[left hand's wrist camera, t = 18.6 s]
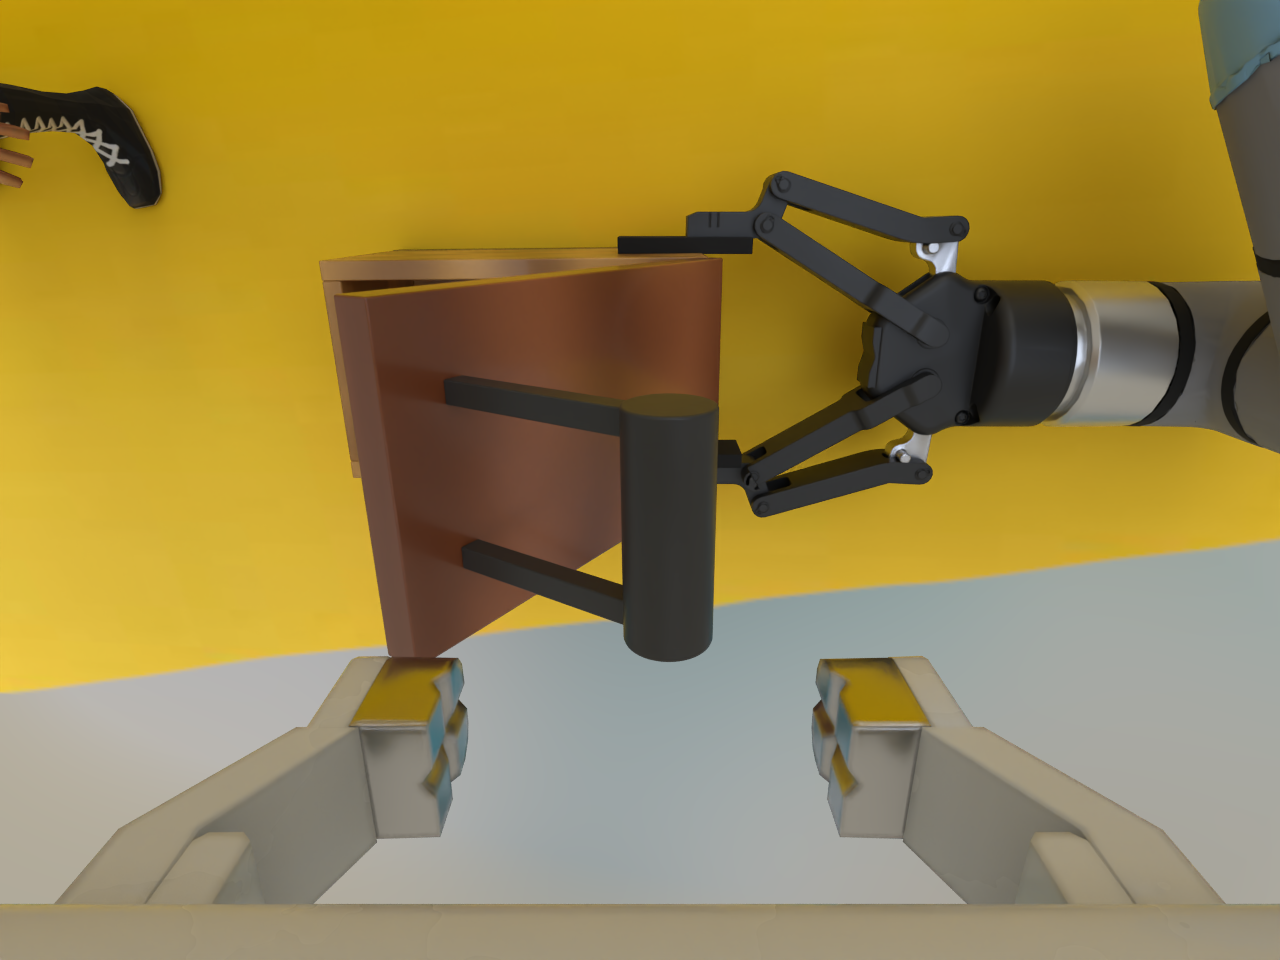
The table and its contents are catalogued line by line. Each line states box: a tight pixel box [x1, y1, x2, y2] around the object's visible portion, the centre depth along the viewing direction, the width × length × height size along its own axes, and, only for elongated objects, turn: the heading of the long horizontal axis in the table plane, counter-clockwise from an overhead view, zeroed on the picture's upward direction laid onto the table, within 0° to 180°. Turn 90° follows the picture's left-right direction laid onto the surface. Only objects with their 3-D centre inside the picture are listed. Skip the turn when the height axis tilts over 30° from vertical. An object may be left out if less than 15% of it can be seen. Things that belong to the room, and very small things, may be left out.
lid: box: [334, 257, 723, 662], centre depth 24 cm, size 18×10×9 cm
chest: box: [319, 247, 708, 478], centre depth 39 cm, size 17×10×11 cm, turn 91°
